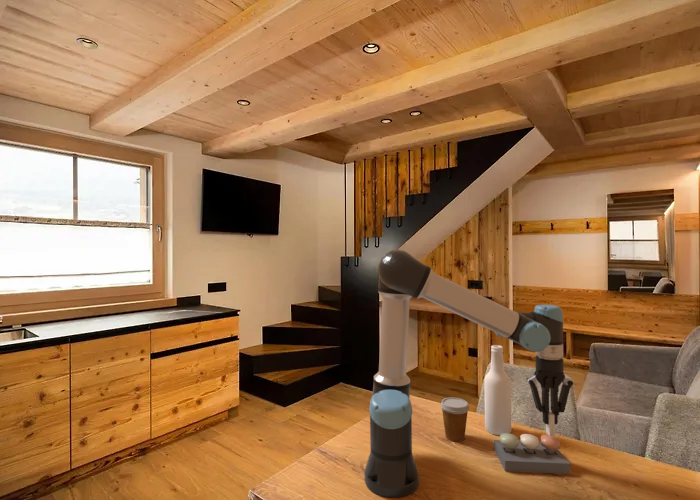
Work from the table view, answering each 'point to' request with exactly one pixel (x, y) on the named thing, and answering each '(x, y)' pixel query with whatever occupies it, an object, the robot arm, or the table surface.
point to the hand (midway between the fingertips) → (550, 434)
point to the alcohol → (497, 395)
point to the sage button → (509, 442)
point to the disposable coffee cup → (454, 418)
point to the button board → (531, 460)
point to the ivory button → (529, 442)
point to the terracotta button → (550, 443)
